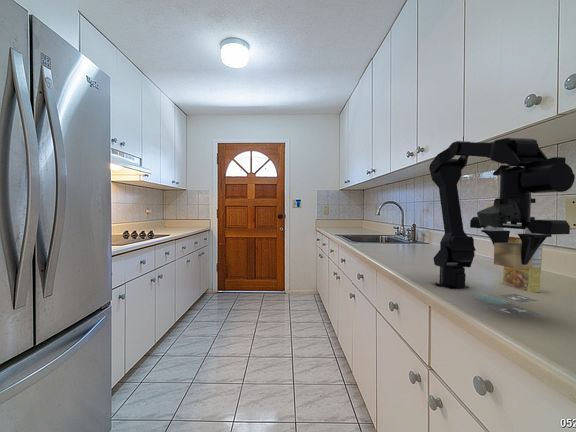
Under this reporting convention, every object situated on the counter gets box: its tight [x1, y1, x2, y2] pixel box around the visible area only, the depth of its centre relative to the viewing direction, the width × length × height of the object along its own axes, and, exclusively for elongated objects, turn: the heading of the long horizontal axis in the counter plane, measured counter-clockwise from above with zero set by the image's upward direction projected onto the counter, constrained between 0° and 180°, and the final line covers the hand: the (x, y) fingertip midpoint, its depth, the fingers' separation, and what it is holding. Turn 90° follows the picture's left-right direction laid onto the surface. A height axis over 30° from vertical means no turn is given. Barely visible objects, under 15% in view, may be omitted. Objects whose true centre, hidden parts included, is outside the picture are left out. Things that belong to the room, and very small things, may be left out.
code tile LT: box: [483, 303, 544, 319], centre depth 67 cm, size 8×8×1 cm
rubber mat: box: [473, 294, 512, 305], centre depth 75 cm, size 6×6×1 cm
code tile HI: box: [497, 293, 539, 303], centre depth 77 cm, size 6×6×1 cm
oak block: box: [493, 242, 533, 268], centre depth 68 cm, size 5×5×5 cm
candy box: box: [502, 235, 543, 293], centre depth 87 cm, size 9×4×15 cm, turn 6°
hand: (512, 262), depth 68 cm, fingers closed on oak block, 5 cm apart
